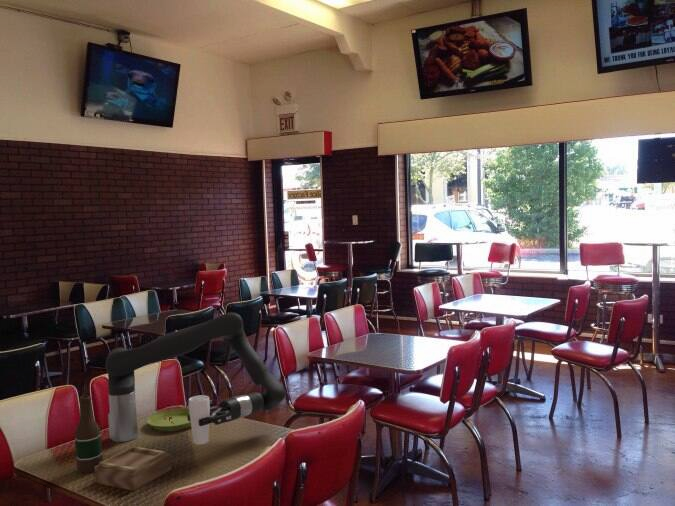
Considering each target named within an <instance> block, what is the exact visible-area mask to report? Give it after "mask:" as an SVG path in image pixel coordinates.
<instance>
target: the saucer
mask: <svg viewBox="0 0 675 506" xmlns="http://www.w3.org/2000/svg"><path fill="white" fill-rule="evenodd" d="M188 415H189V408H175V409H167V410H163V411H159V412H156V413H154V414H152V415H150V416H149V417H148V418H147V419H146V422H147V425H149V427H151V429H154V430H155V431H158V432H177V430H178V431H182V429H183V430H186V429H188V427H189V428H191V421H188ZM169 417H172V419H170V421H169ZM164 418H166V420H165V419H164ZM171 422H173V423H174V424H173V423H171ZM185 428H186V429H185Z"/></svg>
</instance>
